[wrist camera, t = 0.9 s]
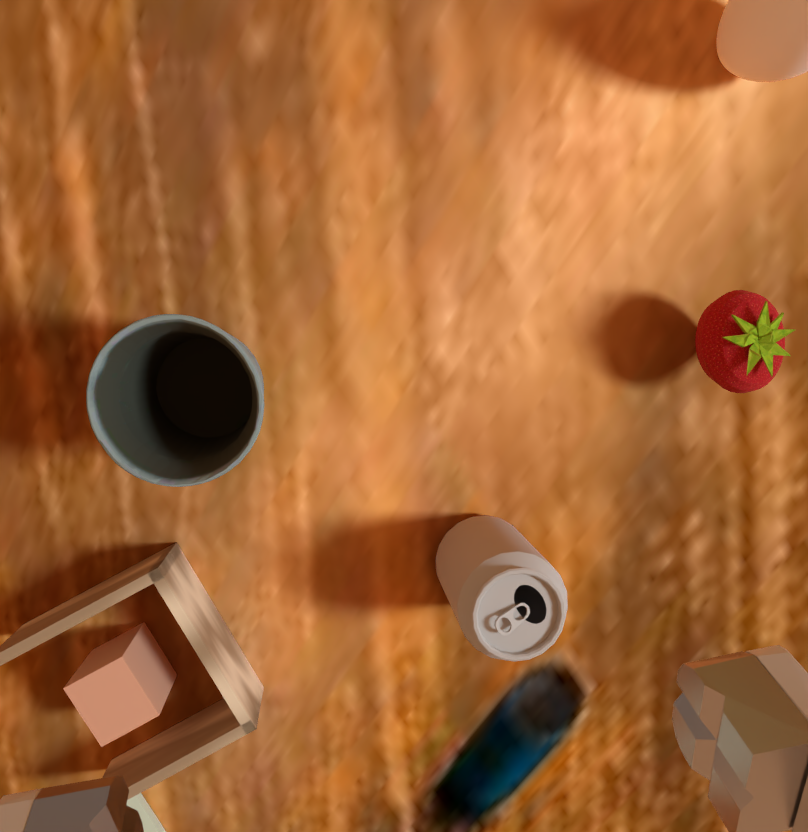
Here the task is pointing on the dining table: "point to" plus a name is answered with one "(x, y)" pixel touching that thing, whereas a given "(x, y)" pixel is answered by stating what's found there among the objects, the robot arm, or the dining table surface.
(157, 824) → the green mat
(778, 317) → the strawberry
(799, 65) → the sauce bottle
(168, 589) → the open box
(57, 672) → the dining table surface
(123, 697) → the block
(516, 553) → the can
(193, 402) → the grey cup
